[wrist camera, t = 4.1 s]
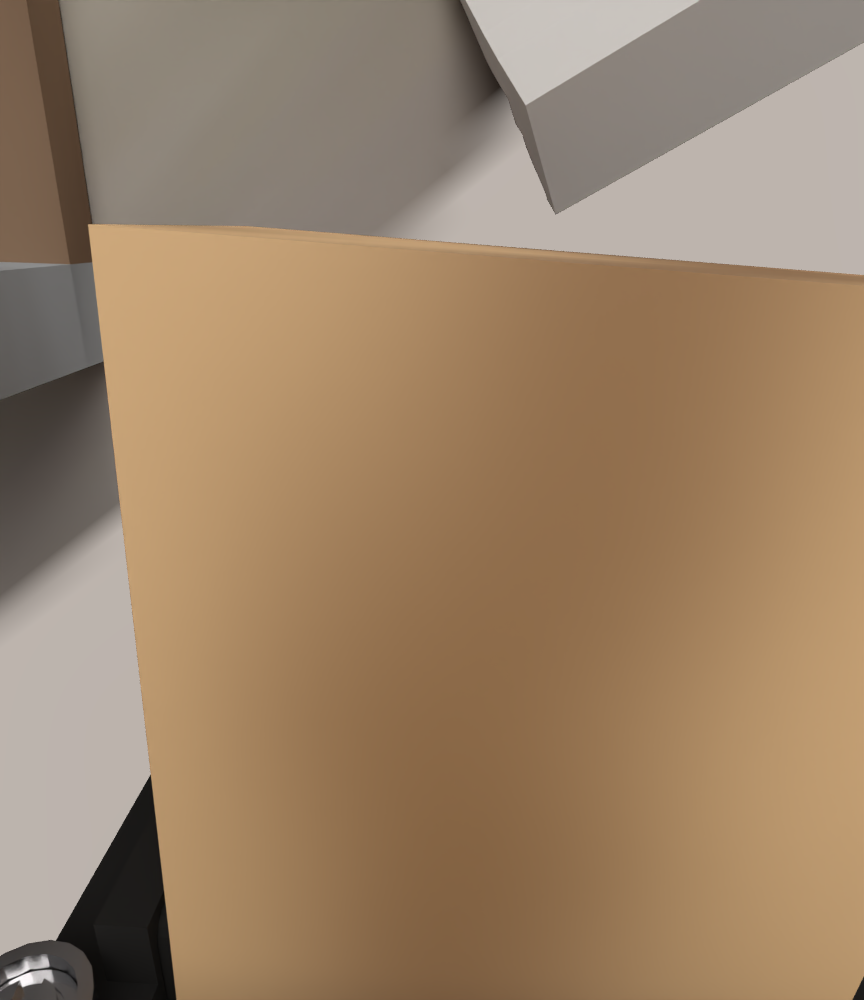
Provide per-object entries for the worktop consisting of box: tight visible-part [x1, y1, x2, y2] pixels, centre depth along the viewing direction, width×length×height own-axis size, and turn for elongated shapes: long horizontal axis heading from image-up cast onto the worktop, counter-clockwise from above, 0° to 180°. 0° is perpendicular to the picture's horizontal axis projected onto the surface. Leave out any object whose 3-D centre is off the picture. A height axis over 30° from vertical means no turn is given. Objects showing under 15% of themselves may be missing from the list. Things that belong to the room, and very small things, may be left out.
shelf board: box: [88, 224, 864, 1000], centre depth 8 cm, size 6×16×3 cm, turn 176°
